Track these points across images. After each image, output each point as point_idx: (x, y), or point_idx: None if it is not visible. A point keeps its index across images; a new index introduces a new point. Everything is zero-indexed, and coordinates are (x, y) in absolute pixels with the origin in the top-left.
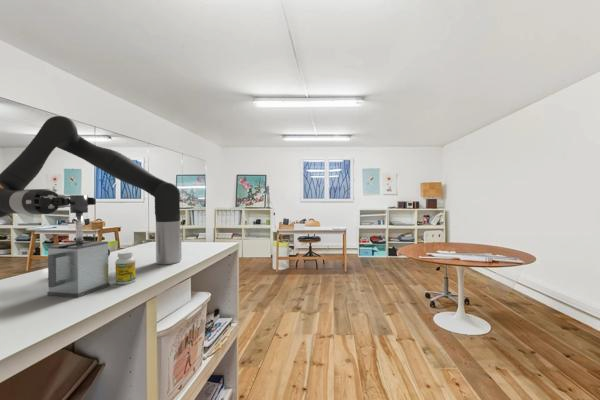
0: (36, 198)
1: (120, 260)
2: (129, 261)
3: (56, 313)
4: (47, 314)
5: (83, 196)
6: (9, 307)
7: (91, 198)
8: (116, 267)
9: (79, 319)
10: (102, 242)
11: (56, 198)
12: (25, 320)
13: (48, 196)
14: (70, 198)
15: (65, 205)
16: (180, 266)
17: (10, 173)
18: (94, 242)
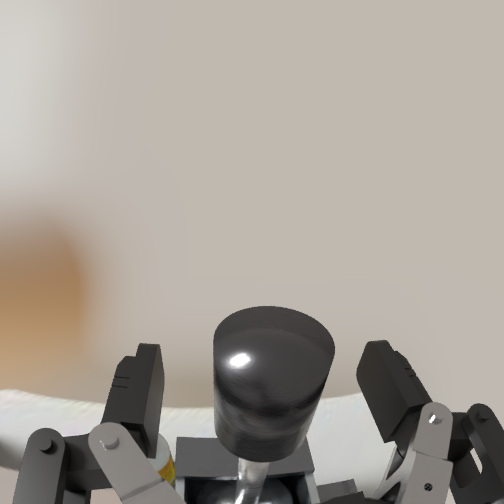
0: (501, 438)
1: (163, 447)
2: None
3: (350, 446)
4: (359, 454)
5: (276, 313)
6: None
7: (157, 357)
8: (168, 467)
9: (346, 397)
10: (201, 439)
11: (410, 389)
12: (386, 458)
13: (447, 460)
14: (328, 373)
15: (362, 380)
16: (15, 413)
17: None
18: (205, 467)
